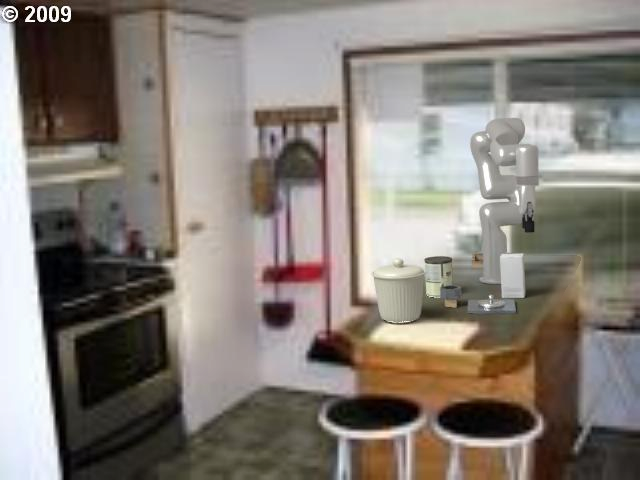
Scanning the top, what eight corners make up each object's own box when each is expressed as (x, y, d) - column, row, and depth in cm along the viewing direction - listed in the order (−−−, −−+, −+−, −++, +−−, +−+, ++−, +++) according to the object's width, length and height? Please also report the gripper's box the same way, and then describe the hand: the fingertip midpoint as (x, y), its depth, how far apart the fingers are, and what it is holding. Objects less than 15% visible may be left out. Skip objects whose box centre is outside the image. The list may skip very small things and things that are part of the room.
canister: (413, 329, 254) (411, 264, 251) (364, 324, 264) (361, 262, 261) (436, 315, 269) (434, 254, 266) (388, 311, 279) (386, 252, 276)
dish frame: (472, 260, 365) (472, 253, 364) (515, 259, 361) (515, 252, 360) (471, 268, 345) (471, 261, 344) (517, 268, 341) (517, 261, 340)
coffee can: (430, 291, 306) (428, 255, 304) (456, 292, 302) (455, 256, 299) (422, 297, 297) (420, 260, 294) (449, 299, 292) (447, 261, 290)
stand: (445, 303, 286) (445, 291, 285) (457, 303, 285) (456, 291, 285) (445, 307, 280) (444, 295, 279) (456, 307, 279) (456, 295, 278)
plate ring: (441, 294, 286) (440, 285, 286) (461, 294, 285) (461, 285, 284) (440, 299, 279) (439, 289, 279) (460, 299, 278) (460, 289, 277)
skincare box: (525, 294, 292) (525, 253, 290) (524, 298, 286) (523, 256, 284) (502, 294, 295) (501, 253, 293) (500, 298, 289) (499, 256, 287)
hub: (468, 302, 285) (468, 290, 285) (514, 302, 282) (513, 289, 281) (467, 313, 270) (467, 300, 269) (515, 313, 266) (515, 300, 266)
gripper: (514, 179, 283) (515, 227, 285) (518, 183, 266) (519, 234, 268) (536, 178, 281) (536, 226, 284) (541, 183, 264) (542, 233, 267)
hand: (528, 230), depth 276 cm, fingers open, 9 cm apart
